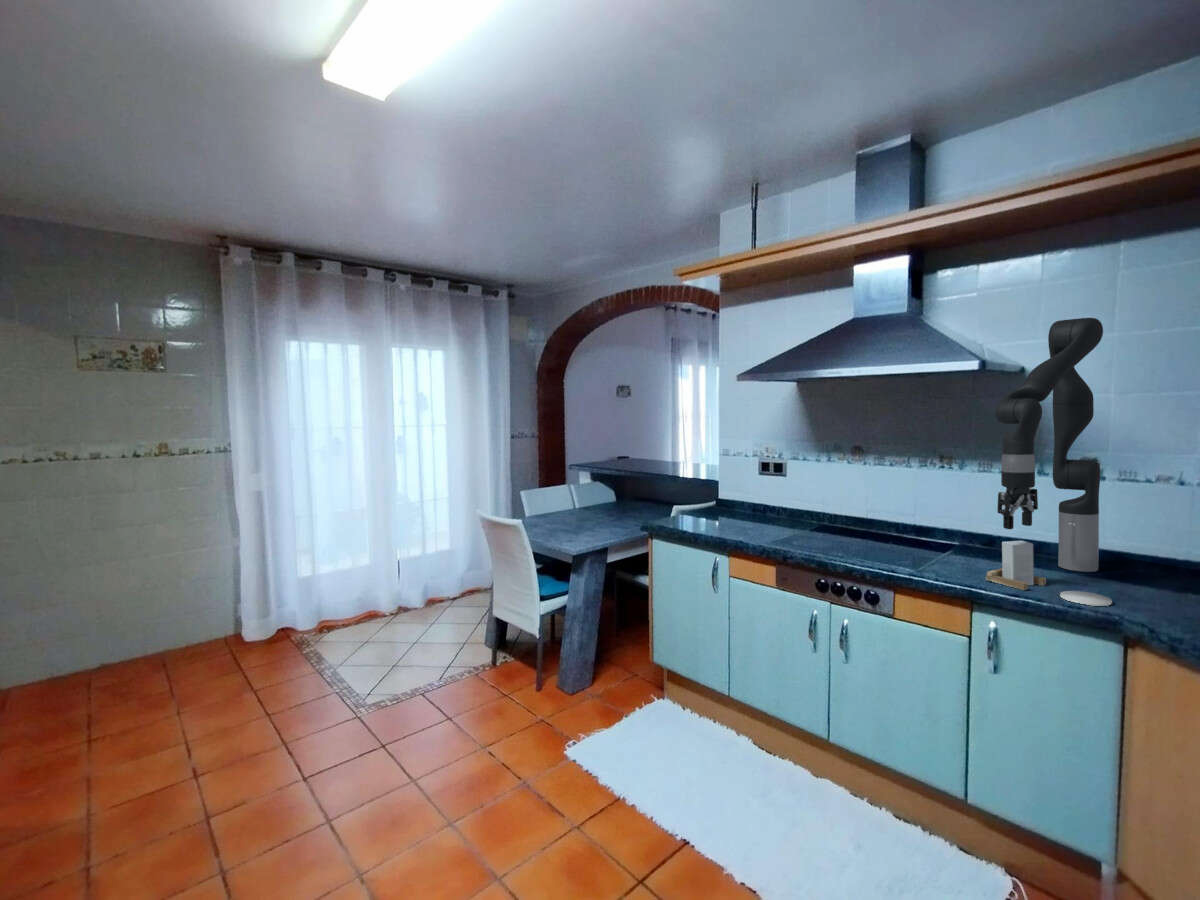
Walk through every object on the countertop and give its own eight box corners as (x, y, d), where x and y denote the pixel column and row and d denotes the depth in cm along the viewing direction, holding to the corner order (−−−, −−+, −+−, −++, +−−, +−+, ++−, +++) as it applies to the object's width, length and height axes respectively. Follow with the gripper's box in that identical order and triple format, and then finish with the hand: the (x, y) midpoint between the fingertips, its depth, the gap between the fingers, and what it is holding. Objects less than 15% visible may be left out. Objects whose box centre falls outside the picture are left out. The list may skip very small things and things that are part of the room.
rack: (1007, 576, 163) (1007, 566, 163) (1046, 585, 154) (1046, 574, 153) (986, 581, 159) (985, 571, 159) (1024, 591, 150) (1024, 580, 149)
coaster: (1073, 591, 148) (1073, 588, 148) (1120, 602, 138) (1120, 599, 138) (1051, 597, 144) (1051, 594, 144) (1098, 609, 134) (1098, 606, 134)
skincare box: (1021, 581, 158) (1021, 540, 157) (1034, 585, 154) (1034, 543, 153) (1001, 582, 158) (1001, 541, 157) (1012, 586, 153) (1012, 544, 153)
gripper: (1017, 472, 147) (1016, 532, 148) (1048, 469, 153) (1048, 526, 154) (987, 470, 154) (987, 527, 155) (1018, 467, 160) (1018, 522, 161)
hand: (1017, 527), depth 155 cm, fingers open, 8 cm apart
